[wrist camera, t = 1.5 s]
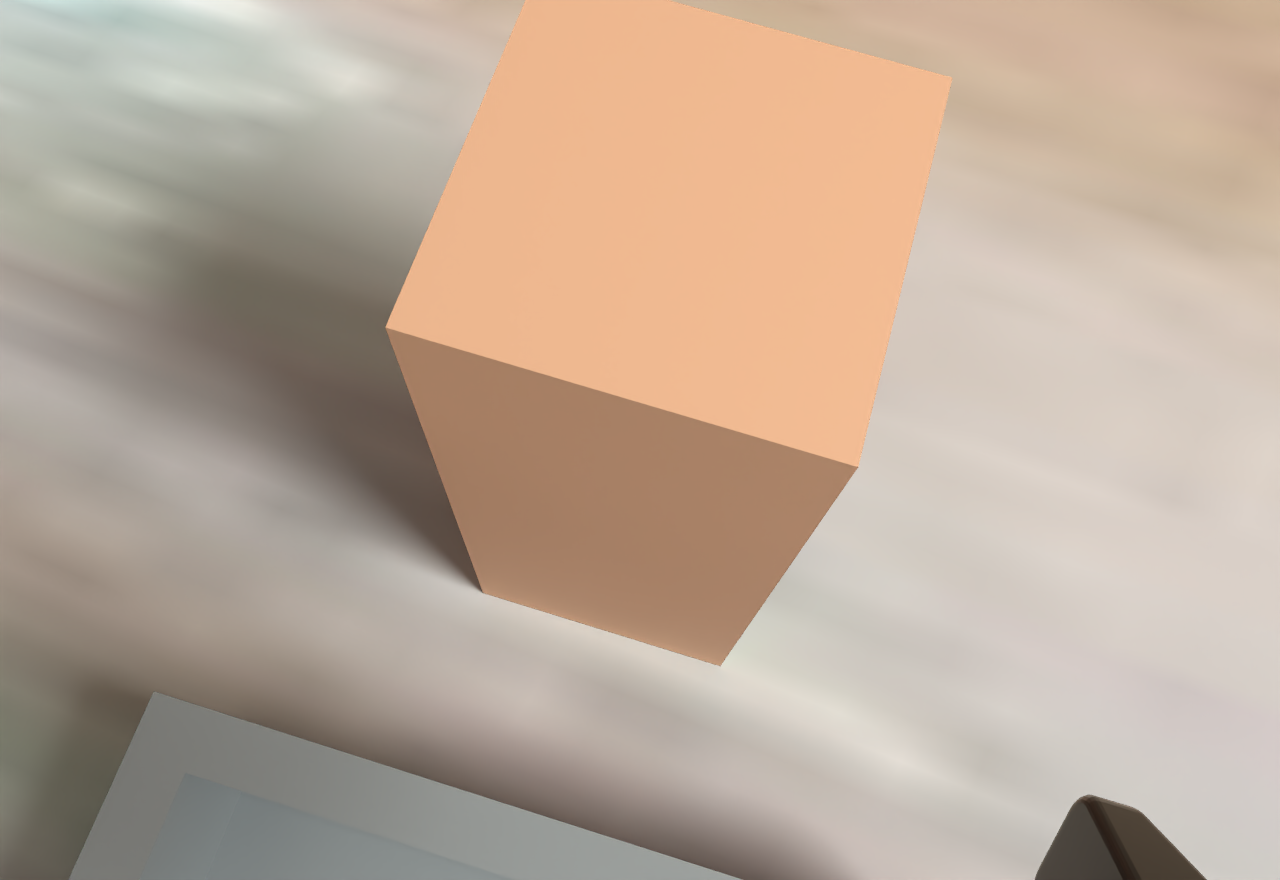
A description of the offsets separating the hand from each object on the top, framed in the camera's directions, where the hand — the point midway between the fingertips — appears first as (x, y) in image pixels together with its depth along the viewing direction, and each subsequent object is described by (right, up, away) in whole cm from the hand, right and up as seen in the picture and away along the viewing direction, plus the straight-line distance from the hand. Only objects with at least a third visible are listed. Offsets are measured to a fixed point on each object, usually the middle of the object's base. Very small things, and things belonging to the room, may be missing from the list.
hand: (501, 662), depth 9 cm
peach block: (+1, 0, +15) cm, 15 cm away
